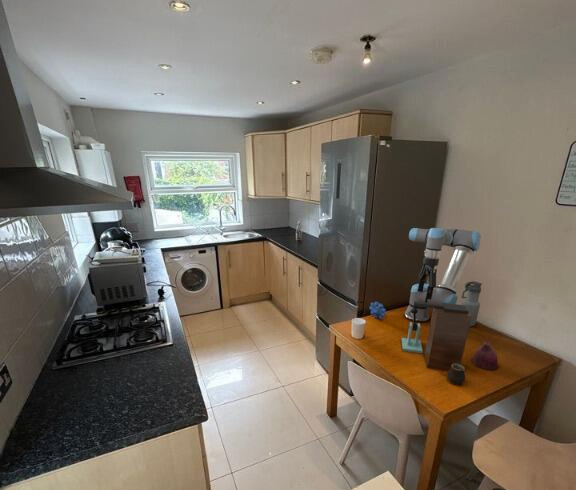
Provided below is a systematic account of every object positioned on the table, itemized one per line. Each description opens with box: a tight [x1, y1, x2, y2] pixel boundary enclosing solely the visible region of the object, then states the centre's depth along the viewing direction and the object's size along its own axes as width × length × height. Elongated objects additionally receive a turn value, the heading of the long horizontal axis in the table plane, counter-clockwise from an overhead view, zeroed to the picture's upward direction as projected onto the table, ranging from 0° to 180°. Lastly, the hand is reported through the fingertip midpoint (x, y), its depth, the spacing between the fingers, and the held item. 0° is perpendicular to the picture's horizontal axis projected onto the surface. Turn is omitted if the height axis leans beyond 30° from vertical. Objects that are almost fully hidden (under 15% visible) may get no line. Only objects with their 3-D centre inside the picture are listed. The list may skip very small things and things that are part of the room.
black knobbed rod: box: [411, 308, 418, 332], centre depth 168 cm, size 15×4×4 cm, turn 163°
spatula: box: [413, 301, 469, 314], centre depth 144 cm, size 7×23×2 cm, turn 73°
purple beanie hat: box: [471, 341, 498, 371], centre depth 149 cm, size 10×10×15 cm
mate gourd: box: [446, 364, 466, 385], centre depth 137 cm, size 7×8×10 cm
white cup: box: [351, 317, 367, 340], centre depth 177 cm, size 8×8×10 cm
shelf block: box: [424, 303, 472, 372], centre depth 148 cm, size 12×14×30 cm
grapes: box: [368, 301, 387, 320], centre depth 198 cm, size 12×7×12 cm, turn 53°
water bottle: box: [461, 280, 483, 327], centre depth 190 cm, size 10×10×28 cm
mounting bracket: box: [401, 321, 424, 354], centre depth 166 cm, size 12×10×14 cm
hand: (423, 295), depth 167 cm, fingers open, 13 cm apart
